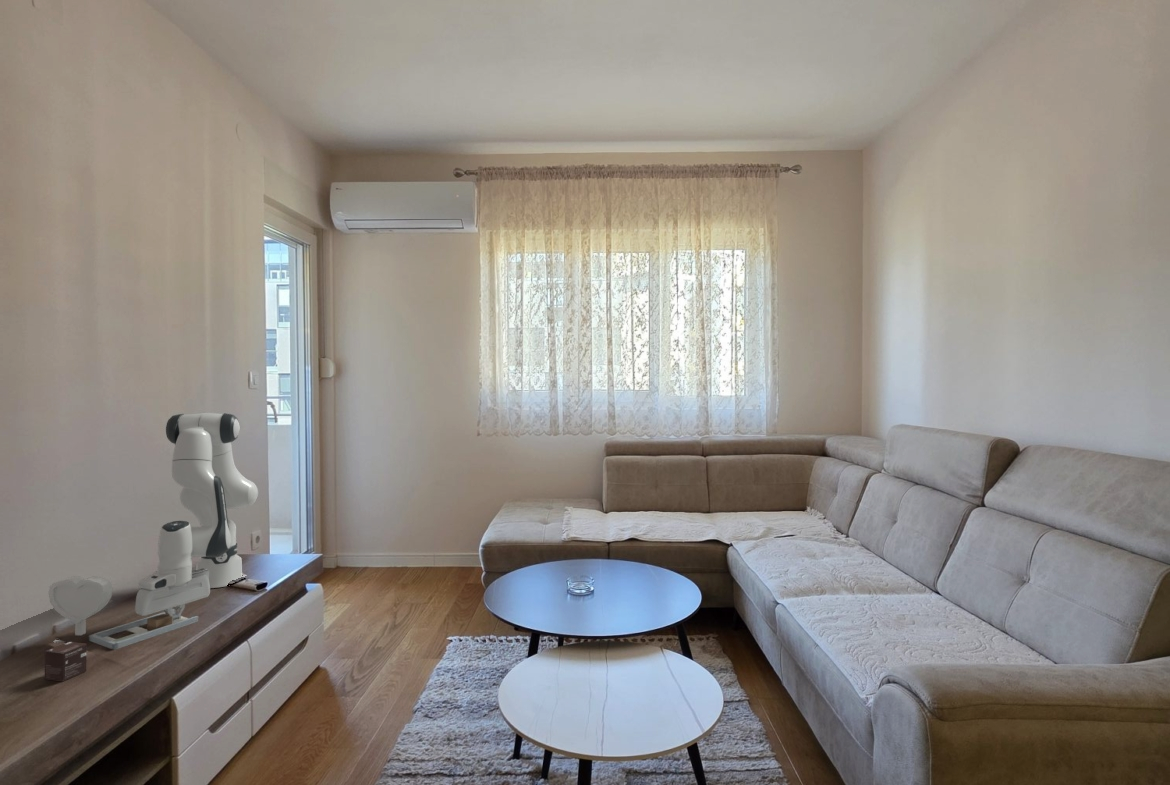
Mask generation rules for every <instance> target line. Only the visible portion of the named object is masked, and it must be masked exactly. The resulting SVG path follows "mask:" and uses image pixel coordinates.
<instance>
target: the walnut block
mask: <svg viewBox="0 0 1170 785" xmlns="http://www.w3.org/2000/svg"><path fill="white" fill-rule="evenodd" d="M170 624H172V616H169V615H166V614H161V615H158V616H155V617H151V618H148V619H147V624H146V625H147V626H146V629H147V630H148V631H152V630H155V629H158V628H161V627H164V626H167V625H170Z"/></svg>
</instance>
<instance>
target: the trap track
mask: <svg viewBox="0 0 1170 785" xmlns="http://www.w3.org/2000/svg"><path fill="white" fill-rule="evenodd" d="M171 613H172V614H175V613H176V609H175V608H173V611H171ZM161 614H165V612H164V611H162V612H159V613H157V614H156V613H155V614H154V615H153V614H152V615H151V616H150V615H149V616H147V617H146V616H145V617H144V618H143V617H142V618H141V619H137V620H134V621H131V622H127V623H125V624H121V625H117V626H114V627H112V628H108V629H105V630H101V631H99V632H95V633H91V634H89V635H88V641H89V642H91V643H94V644H96V645H100V646H103V647H105V648H107V649H111V650H113V651H115V650H118V649H121V648H124V647H127V646H129V645H133V644H135V643H140V642H141V641H144V640H148V639H150V638H153V637H157V636H160V635H162V634H165V633H168V632H172V631H174V630H177V629H180V628H183V627H186V626H189V625H191V624H194V623H197V622H199V616H198V615H195V616H191V617H186V616H183V615H181V619H179V620H176V621H173V622H172V624H170V625H167V626H164V627H161V628H158V629H155V630H152V631H148V630H147V628H143V627H140V626H144V625H147V619H148V618H151V617H155V616H158V615H161ZM124 631H125V632H126V631H127V632H130V633H133V634H129V635H126V636H123V637H119V638H113V637H110V636H112V635H115V634H118V633H122V632H124Z"/></svg>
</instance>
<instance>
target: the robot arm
mask: <svg viewBox="0 0 1170 785" xmlns="http://www.w3.org/2000/svg"><path fill="white" fill-rule="evenodd" d="M240 426H241V425H240V423H239V418H238V417H236V415H235V414H231V413H219V412H218V413H217V412H203V413H201V412H199V413H187V414H186V413H185V414H184V413H180V414H179V413H178V414H174V415H172V416H171V417H170V418H168V420H167V422H166V425H165V434H166V438H167V440H168V441H170V443H171V444H173V445H174V449H173V454H172V462H171V476H172V478H173V481H174V482H175V483H176V484H177V485H179V487H182V489H181V490H180V493H179V500H180V503H181V506H182V507H184V508H185V509H187V510H188V511H190V512H191V513H192V514H193V515H194V516H195V518H196V519H197V520H198V522H199V525H200V526H191V523H190V522H189V521H186V520H175V521H174V520H173V521H170V522H167V523H165V524H163V525H162V526H161V528H160V531H159V536H158V543H157V556H158V565H157V570H156V571H155V572H153V573H151V574H149V575H148V576H146V577H144V578H142V579H140V580H139V581H138V587H139V590H138V592H137V593H136V597H135V607H134V611H135V613H136V614H137V615H139V616H142V617H146V616H150V615H153V614H156V613H158V612H159V613H161V612H165V614H166V615H169V616H172V622H173V621H176V620H179V619H181V616H182V613H183V611H184V610H185V608H186V604H189V603H192V602H195V601H199V600H202V599H205V598H208V597H209V596H210V594H211V589H214V588H215V589H216V588H222V587H223V588H224V587H228V586H227V585H228V583H229V582H230V581H232V580H236V579H238V578H241V577H245V576H248V575H247V574H245V573H244V572H243V564H242V563H243V562H242V557H241V556H239V555H238V543H237V524H236V523H235V521H233V520H232V519H231V518H228V512H227V510H236V509H237V510H239V509H243V508H248V507H252V506H253V505H254V504H255V502H256V501H257V499H258V496H259V489H258V486H257V485H256V483H255V482H253V481H252V480H250V479H248V478H246V477H245V476H244V475H243V474H241V472H240V471H239V470H238V468H237V467H236V465H235V460H234V454H233V447H232V442H233V443H234V441H236V440H237V439H238V436H239V434H240V430H241V429H240V428H241V427H240ZM192 558H200V559H199V561H198V562H197V563H196V565H193V561H192ZM242 575H243V576H242ZM174 608H176V610H175V614H172V613H171V611H173V609H174Z"/></svg>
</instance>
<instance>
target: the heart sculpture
mask: <svg viewBox="0 0 1170 785" xmlns="http://www.w3.org/2000/svg"><path fill="white" fill-rule="evenodd" d="M48 587H49V588H48V593H47V594H48V599H49V603H50V606H52V608H53V609H54V611H55V612H57V613H58V614H59V615H60V616H62V617H63V618H65V619H66V620H69V621H70V622H72V623H73V624H75V626H74V627H75V628H74V629H75V630H74V636H83V635H85V634H86V631H87V630H86V629H87V628H86V626H87V624H86V623H87V619H89V618H90V617H92V616H93V615H95V614H97V613H98V612H100V611H102V609H103V608H105V607H106V606H107V605H108V603H109V602H110V601H111V599H112V595H113V590H114V589H113V588H114V587H113V582H112V581H111V580H110V579H108V578H105V577H102V576H93V575H92V576H90V577H88V578H83V577H81V576H76V575H75V576H74V575H73V576H71V577H70V576H69V577H66V578H63V579H60V580H58V581H55V582H53V583H51V584H50V586H48ZM53 642H54V643H53V644H59V643H58V642H65V641H64V640H61V639H59V640H56V639H55V640H53ZM56 642H57V643H56Z"/></svg>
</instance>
